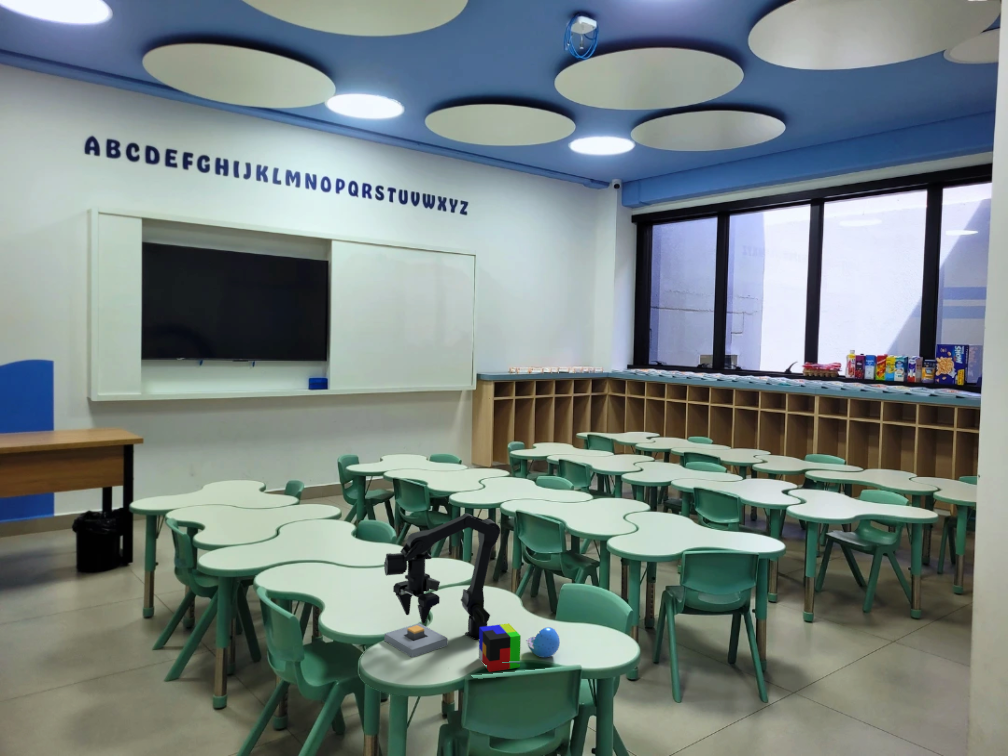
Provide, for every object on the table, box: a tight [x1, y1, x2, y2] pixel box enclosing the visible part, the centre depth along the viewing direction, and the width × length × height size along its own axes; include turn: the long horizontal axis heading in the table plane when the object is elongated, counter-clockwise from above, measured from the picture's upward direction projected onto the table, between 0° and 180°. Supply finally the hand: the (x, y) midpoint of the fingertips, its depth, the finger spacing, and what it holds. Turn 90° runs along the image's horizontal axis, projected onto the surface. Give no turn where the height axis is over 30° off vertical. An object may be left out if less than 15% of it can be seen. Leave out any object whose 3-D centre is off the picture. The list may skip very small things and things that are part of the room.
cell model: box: [525, 626, 560, 659], centre depth 225 cm, size 10×12×10 cm
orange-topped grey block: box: [407, 625, 424, 641], centre depth 232 cm, size 4×4×5 cm
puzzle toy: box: [478, 622, 522, 673], centre depth 219 cm, size 10×10×10 cm
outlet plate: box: [383, 622, 448, 658], centre depth 232 cm, size 16×14×2 cm
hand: (415, 619), depth 231 cm, fingers open, 9 cm apart
